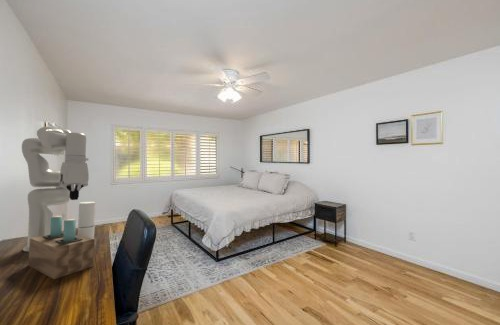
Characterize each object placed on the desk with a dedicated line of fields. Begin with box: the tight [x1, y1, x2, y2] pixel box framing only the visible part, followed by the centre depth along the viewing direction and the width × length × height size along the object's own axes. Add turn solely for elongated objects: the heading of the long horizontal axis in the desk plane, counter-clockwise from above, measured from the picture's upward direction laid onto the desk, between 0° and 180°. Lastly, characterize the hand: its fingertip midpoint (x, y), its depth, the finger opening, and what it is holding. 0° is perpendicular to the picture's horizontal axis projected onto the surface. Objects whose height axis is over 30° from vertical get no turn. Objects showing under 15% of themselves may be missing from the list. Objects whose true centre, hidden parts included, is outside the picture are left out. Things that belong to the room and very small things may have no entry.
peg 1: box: [50, 215, 63, 238], centre depth 103 cm, size 4×4×12 cm
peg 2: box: [63, 218, 77, 242], centre depth 98 cm, size 4×4×12 cm
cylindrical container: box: [77, 201, 97, 240], centre depth 121 cm, size 7×7×25 cm
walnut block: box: [27, 231, 95, 280], centre depth 100 cm, size 14×24×12 cm, turn 62°
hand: (74, 199), depth 104 cm, fingers closed
